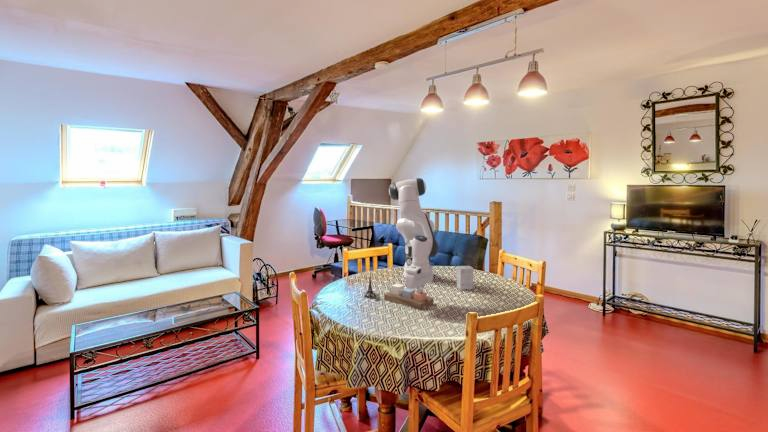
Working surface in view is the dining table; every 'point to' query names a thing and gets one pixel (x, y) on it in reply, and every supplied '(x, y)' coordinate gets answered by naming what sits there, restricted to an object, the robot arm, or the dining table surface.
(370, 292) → the eiffel tower figurine
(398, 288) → the cream cube
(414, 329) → the dining table surface
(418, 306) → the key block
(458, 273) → the small box
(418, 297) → the peach cube
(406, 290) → the slate key
